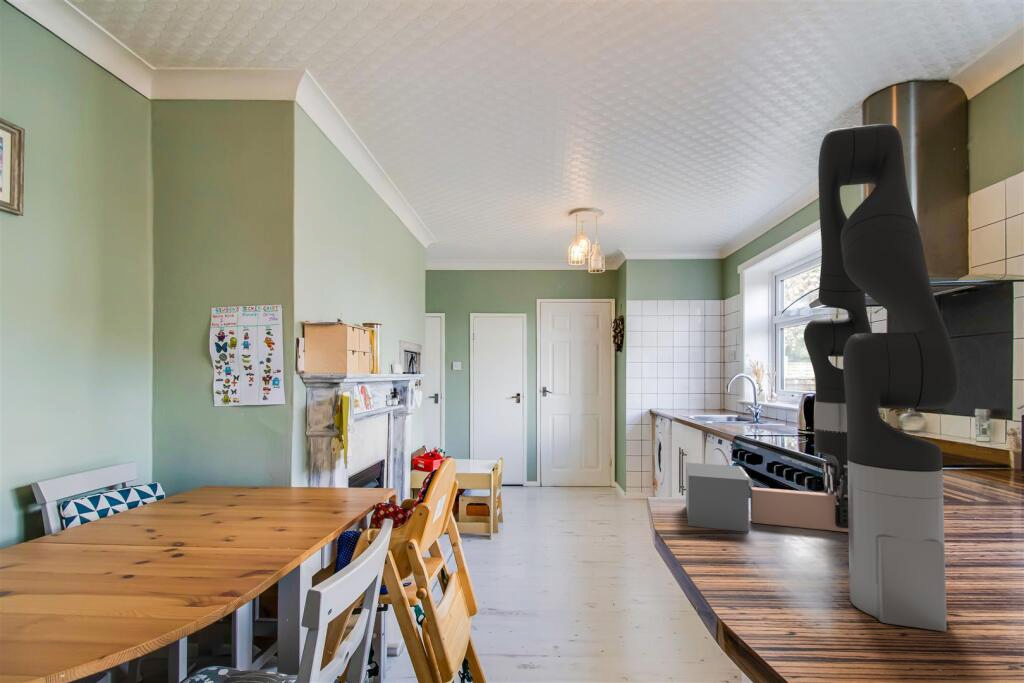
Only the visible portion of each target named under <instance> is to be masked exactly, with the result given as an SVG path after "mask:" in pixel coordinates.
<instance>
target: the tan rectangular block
mask: <svg viewBox="0 0 1024 683" xmlns="http://www.w3.org/2000/svg"><path fill="white" fill-rule="evenodd" d="M749 488H750V491H749V492H750V494H749V495H750V496H749V497H750V521H751V522H752V523H753V524H762V525H763V524H764V525H774V526H785V527H793V528H804V529H812V530H824V531H825V530H827V531H834V532H844V533H845V532H846V533H849V528H839V527H837V526H836V524H835V503H834V494H831V493H825V492H819V491H816V492H815V491H805V490H804V491H803V490H791V489H781V488H766V487H756V486H753V487H749ZM844 498H847V495H844Z"/></svg>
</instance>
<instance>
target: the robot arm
mask: <svg viewBox="0 0 1024 683" xmlns="http://www.w3.org/2000/svg"><path fill="white" fill-rule="evenodd" d="M903 147H904V146H903V140H902V136H901V133H900V131H899V129H898V127H897V126H896V125H894V124H891V123H890V124H889V123H876V124H866V125H859V126H858V125H857V126H852V127H851V126H849V127H843V128H842V127H841V128H836V129H831V130H829V131H828V132H827V133H826V134H825V135H824V137H823V138H822V142H821V144H820V149H819V154H818V155H819V156H818V164H817V165H818V169H817V170H818V173H817V174H818V175H817V176H818V177H817V179H818V205H819V206H818V208H819V209H818V210H819V226H820V227H819V229H820V245H821V259H820V260H821V261H820V262H821V263H820V274H819V285H818V301H819V302H820V304H822V305H823V306H825V307H830V308H835V309H841V310H843V311H844V310H845V311H846V313H847V315H848V316H847V318H846V317H845V318H843V317H842V318H834V317H833V318H814V319H812V320H811V321H809V322H808V323H807V324H806V326H805V327H804V331H803V342H804V345H805V348H806V351H807V354H808V356H809V359H810V363H811V366H812V370H813V375H814V381H815V408H814V415H813V417H814V451H815V452H816V453H818V454H821V455H825V456H826V458H825V461H826V462H824V463H821V466H820V468H821V473H822V480H823V487H824V493H831V494H834V503H835V524H836V526H837V527H839V528H849V532H848V568H849V572H848V573H849V574H848V575H849V601H850V602H851V604H852V605H853V606H854V607H856V608H857V609H859V610H860V611H862V612H864V613H865V614H867V615H870V616H873V617H874V618H876V619H878V621H880V623H884V624H889V625H890V624H891V625H895V626H896V625H897V626H902V627H903V626H904V627H912V628H918V629H925V630H932V631H933V630H934V631H939V632H947V620H948V619H947V617H948V615H947V589H946V588H947V586H946V554H945V552H946V551H945V549H946V548H945V547H946V546H945V520H944V518H945V517H944V513H945V512H944V511H945V509H944V479H943V478H944V472H943V471H944V470H943V468H944V467H943V466H944V465H943V452H942V449H941V447H940V446H939V445H938V444H936V443H935V442H933V441H930V440H927V439H924V438H921V437H918V436H915V435H913V434H909V433H906V432H904V431H902V430H900V429H898V428H896V427H893V426H892V425H891V424H890V423H888V422H886V421H885V420H884V419H883V418H882V416H881V414H880V411H879V408H885V409H888V408H891V409H910V410H911V409H912V410H913V409H915V410H936V409H937V410H939V409H944V408H947V407H950V406H951V405H952V404H953V403H954V402H955V400H956V398H957V396H958V392H959V390H960V388H959V387H960V374H959V365H958V361H957V357H956V353H955V349H954V346H953V343H952V341H951V337H950V336H949V333H948V332H949V331H948V330H947V327H946V325H945V322H944V319H943V316H942V315H941V314H942V313H941V312H940V309H939V306H938V303H937V300H936V298H935V295H934V292H933V289H932V284H931V281H930V275H929V271H928V266H927V263H926V257H925V252H924V251H925V250H924V244H923V242H922V236H921V233H920V230H919V229H920V228H919V225H918V221H917V219H916V216H915V212H914V209H913V204H912V203H911V202H912V200H911V198H910V192H909V189H908V183H907V176H906V167H905V166H906V165H905V158H904V156H905V155H904V148H903ZM867 184H868V185H870V184H873V185H875V187H874V188H873V189H872V191H871V192H870V193H869V195H868V196H867V197H866V198H865V199H864V200H863V201H862V202H861V203H860V204H859V205H858V206H857V207H856V208H855V209H854V211H853V212H852V213H851V214H850V216H849V217H848V216H846V213H845V211H844V209H843V205H842V200H841V199H842V198H841V187H842V186H855V185H856V186H857V185H867ZM866 295H867V296H869V297H870V298H871V299H873V301H875V302H876V303H877V304H879V305H880V306H881V307H883V309H885V310H886V311H888V313H889V314H890V315H891V316H892V317H893V318H894V319H895V321H896V322H897V323H898V325H899V328H901V330H902V332H873V330H872V328H871V324H870V321H869V320H870V319H869V315H868V309H867V302H866V301H867V300H866ZM829 357H835V358H836V357H838V358H841V357H842V367H843V368H839V367H836V366H835V365H833V363H832V362H831V361H830V359H829ZM844 495H847V498H844Z"/></svg>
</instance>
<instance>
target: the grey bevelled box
mask: <svg viewBox="0 0 1024 683" xmlns="http://www.w3.org/2000/svg"><path fill="white" fill-rule="evenodd" d="M750 487H755V482H754V481H753V479H752V478H751V477H750V475H748V473H747V471H745V469H744V468H743V467H742V466H740V465H739V466H738V465H725V464H709V463H699V462H698V463H697V462H696V463H694V462H685V508H686V509H685V510H686V517H687V523H688V524H687V525H688V526H690V527H699V528H707V529H716V530H717V529H718V530H725V531H726V530H727V531H737V532H746V533H749V529H750V528H749V527H750V520H749V519H750V515H749V514H750V513H749V511H750V509H749V501H750V500H749V498H750V496H749V495H750V494H749V492H750V491H749V488H750Z"/></svg>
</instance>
